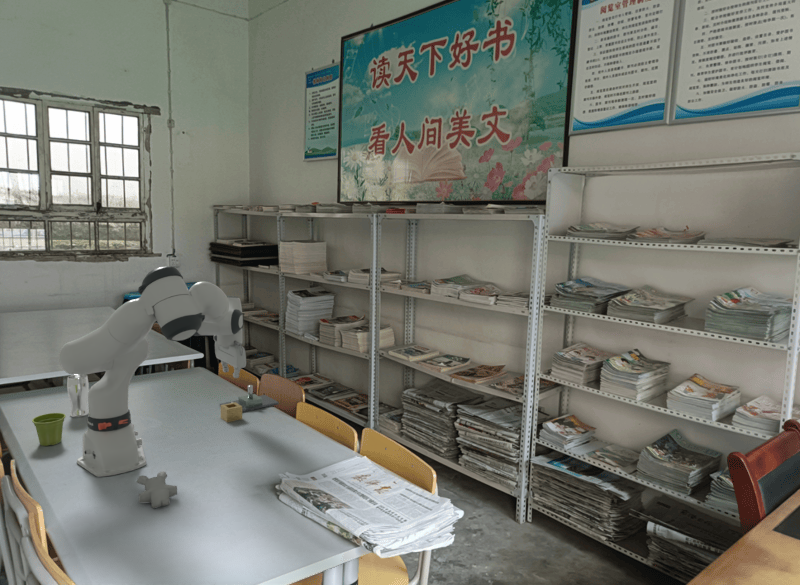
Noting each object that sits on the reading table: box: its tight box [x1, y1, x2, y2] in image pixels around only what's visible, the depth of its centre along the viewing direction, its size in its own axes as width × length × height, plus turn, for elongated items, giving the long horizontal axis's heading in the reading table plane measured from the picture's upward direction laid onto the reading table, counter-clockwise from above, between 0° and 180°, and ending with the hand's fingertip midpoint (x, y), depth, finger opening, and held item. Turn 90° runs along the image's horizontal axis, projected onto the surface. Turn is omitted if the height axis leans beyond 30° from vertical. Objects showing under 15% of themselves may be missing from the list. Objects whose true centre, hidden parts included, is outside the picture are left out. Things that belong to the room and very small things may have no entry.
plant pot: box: [31, 412, 66, 447], centre depth 185 cm, size 9×9×9 cm
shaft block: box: [219, 384, 280, 413], centre depth 226 cm, size 12×20×8 cm, turn 130°
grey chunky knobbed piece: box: [136, 470, 178, 509], centre depth 151 cm, size 10×5×15 cm
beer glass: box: [66, 374, 90, 418], centre depth 211 cm, size 7×7×15 cm
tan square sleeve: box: [219, 402, 243, 423], centre depth 211 cm, size 6×6×5 cm
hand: (230, 374), depth 209 cm, fingers open, 8 cm apart
